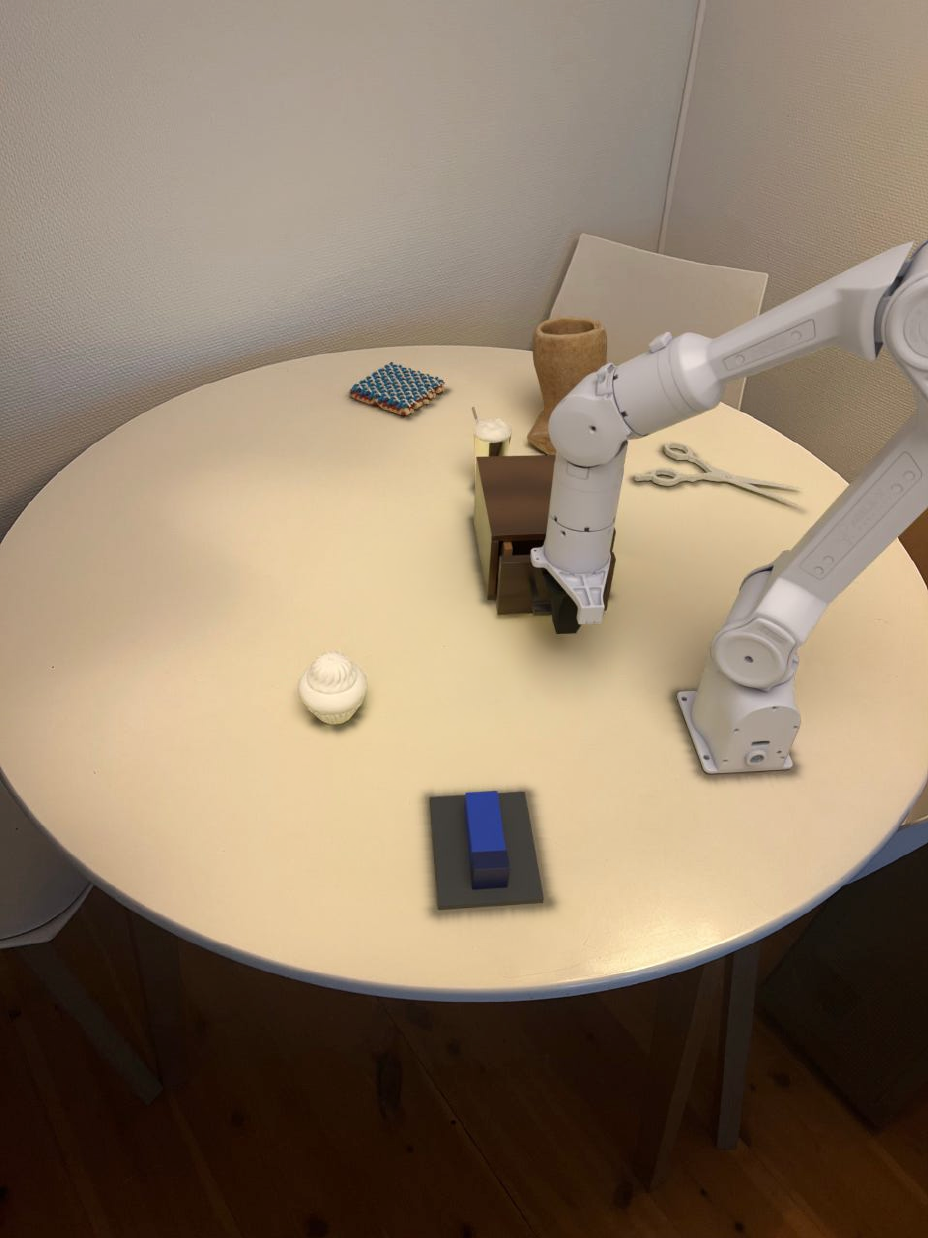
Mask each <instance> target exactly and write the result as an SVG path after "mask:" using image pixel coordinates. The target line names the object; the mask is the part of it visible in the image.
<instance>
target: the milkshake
mask: <svg viewBox="0 0 928 1238" xmlns="http://www.w3.org/2000/svg"><path fill="white" fill-rule="evenodd" d="M471 411H472V415H473V419H474V422H475V425H474V426H473V429H472V433H473V435H472V436H473V453H474V476H476V457H486V456H509V450H510V445H511V440H512V434H513V431H512V430H513V429H512V427H511V425H510V424H509V423H508V422H507V421H506V420H504V419H502V417H497V418H496V417H495V418H493V417H492V418H491V417H489V418H485V419H482V420H480V421H479V418H478V415H477V412H476V409H475V406H472V407H471Z"/></svg>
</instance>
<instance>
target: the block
mask: <svg viewBox="0 0 928 1238" xmlns="http://www.w3.org/2000/svg"><path fill="white" fill-rule="evenodd" d="M498 793H499V792H498V790H488V791H471V792H470V791H469V792H465V793H464V795H465V808H464V814H465V823H466V831H467V840H468V849H469V858H470V867H471V870H470V873H471V882H472V889H473V890H476V889H491V888H506V887H507V886H508V877H509V869H510V867H509V860H508V854H507V850H506V846H505V839H504V833H503V826H502V819H501V813H500V806H499V799H498Z"/></svg>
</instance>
